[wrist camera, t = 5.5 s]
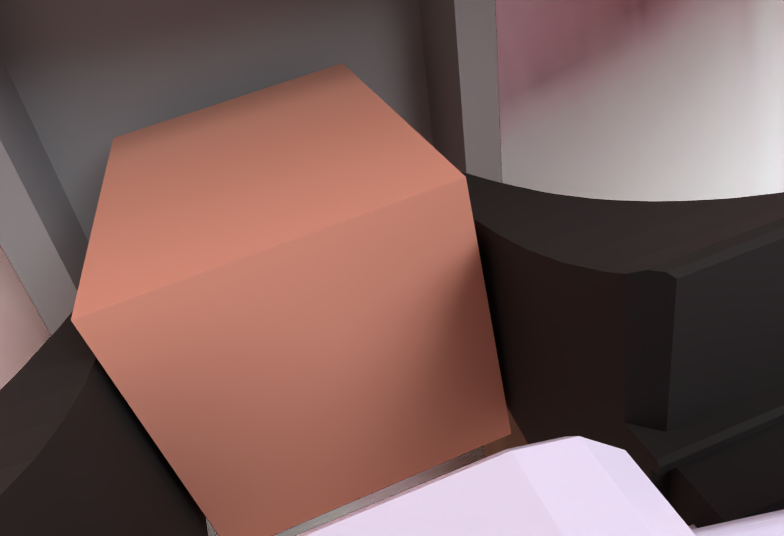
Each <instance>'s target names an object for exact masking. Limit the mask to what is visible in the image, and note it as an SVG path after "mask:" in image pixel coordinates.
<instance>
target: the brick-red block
mask: <svg viewBox="0 0 784 536" xmlns="http://www.w3.org/2000/svg"><path fill="white" fill-rule="evenodd" d="M71 321H72V323H73V324H74V326H75V327H76V329H77V330H78V331H79V333H80V334H81V336H82V337H83V339H84V340H85V342H86V343H87V345H88V346H89V347H90V349H91V350H92V352H93V353H94V355H95V356H96V358H97V359H98V361H99V362H100V363H101V365H102V366H103V368H104V369H105V371H106V372H107V374H108V375H109V377H110V378H111V379H112V381H113V382H114V384H115V385H116V387H117V388H118V390H119V391H120V393H121V394H122V395H123V397H124V398H125V400H126V401H127V403H128V404H129V406H130V407H131V409H132V410H133V411H134V413H135V414H136V416H137V417H138V419H139V420H140V422H141V423H142V425H143V426H144V427H145V429H146V430H147V432H148V433H149V435H150V436H151V438H152V439H153V441H154V442H155V443H156V445H157V446H158V448H159V449H160V451H161V452H162V454H163V455H164V457H165V458H166V459H167V461H168V462H169V464H170V465H171V467H172V468H173V470H174V471H175V473H176V474H177V475H178V477H179V478H180V480H181V481H182V483H183V484H184V486H185V487H186V489H187V490H188V491H189V493H190V494H191V496H192V497H193V499H194V500H195V502H196V503H197V505H198V506H199V507H200V509H201V510H202V512H203V513H204V515H205V516H206V518H207V519H208V521H209V522H210V523H211V525H212V526H213V528H214V529H215V531H216V532H217V534H218V535H219V536H273V535H275V534H278V533H280V532H282V531H285V530H287V529H289V528H292V527H294V526H296V525H299V524H301V523H303V522H306V521H308V520H310V519H313V518H315V517H318V516H320V515H322V514H325V513H327V512H329V511H332V510H334V509H336V508H339V507H341V506H343V505H346V504H348V503H350V502H353V501H355V500H357V499H360V498H362V497H364V496H367V495H369V494H371V493H374V492H376V491H378V490H381V489H383V488H385V487H388V486H390V485H392V484H395V483H397V482H399V481H402V480H404V479H406V478H409V477H411V476H413V475H416V474H418V473H420V472H423V471H425V470H428V469H430V468H432V467H435V466H437V465H439V464H442V463H444V462H446V461H449V460H451V459H453V458H456V457H458V456H460V455H463V454H465V453H467V452H470V451H472V450H474V449H477V448H479V447H481V446H484V445H486V444H488V443H491V442H493V441H495V440H498V439H500V438H502V437H505V436H507V435H509V434H511V430H510V424H509V418H508V413H507V407H506V401H505V396H504V390H503V384H502V379H501V373H500V367H499V362H498V356H497V350H496V345H495V339H494V333H493V328H492V322H491V316H490V311H489V305H488V299H487V294H486V288H485V282H484V277H483V271H482V265H481V260H480V254H479V248H478V243H477V237H476V231H475V226H474V220H473V215H472V209H471V203H470V198H469V192H468V186H467V181H466V177H465V176H464V175H463V174H462V173H461V172H460V171H459V170H458V169H457V168H456V167H455V166H454V165H452V164H451V163H450V162H449V161H448V160H447V159H446V158H445V157H444V156H443V155H442V154H441V153H439V152H438V151H437V150H436V149H435V148H434V147H433V146H432V145H431V144H430V143H429V142H427V141H426V140H425V139H424V138H423V137H422V136H421V135H420V134H419V133H418V132H417V131H416V130H414V129H413V128H412V127H411V126H410V125H409V124H408V123H407V122H406V121H405V120H404V119H403V118H401V117H400V116H399V115H398V114H397V113H396V112H395V111H394V110H393V109H392V108H391V107H390V106H388V105H387V104H386V103H385V102H384V101H383V100H382V99H381V98H380V97H379V96H378V95H377V94H375V93H374V92H373V91H372V90H371V89H370V88H369V87H368V86H367V85H366V84H365V83H364V82H362V81H361V80H360V79H359V78H358V77H357V76H356V75H355V74H354V73H353V72H352V71H350V70H349V69H348V68H347V67H346V66H345V65H344V64H343V63H341V64H338V65H335V66H332V67H329V68H326V69H323V70H320V71H317V72H314V73H311V74H307V75H304V76H301V77H298V78H295V79H292V80H289V81H286V82H283V83H280V84H277V85H274V86H271V87H268V88H265V89H262V90H259V91H255V92H252V93H249V94H246V95H243V96H240V97H237V98H234V99H231V100H228V101H225V102H222V103H219V104H216V105H213V106H210V107H207V108H203V109H200V110H197V111H194V112H191V113H188V114H185V115H182V116H179V117H176V118H173V119H170V120H167V121H164V122H161V123H158V124H155V125H151V126H148V127H145V128H142V129H139V130H136V131H133V132H130V133H127V134H124V135H121V136H118V137H115V138H113V141H112V145H111V149H110V154H109V158H108V162H107V167H106V171H105V175H104V180H103V184H102V188H101V192H100V197H99V201H98V205H97V210H96V214H95V218H94V223H93V227H92V231H91V235H90V240H89V244H88V248H87V253H86V257H85V261H84V266H83V270H82V274H81V278H80V283H79V287H78V291H77V296H76V300H75V304H74V309H73V313H72V317H71Z"/></svg>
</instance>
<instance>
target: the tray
mask: <svg viewBox="0 0 784 536" xmlns="http://www.w3.org/2000/svg"><path fill="white" fill-rule="evenodd" d="M341 63H343V64H344V65H345V66H346V67H347V68H348V69H349V70H350V71H352V72H353V73H354V74H355V75H356V76H357V77H358V78H359V79H360V80H361V81H362V82H364V83H365V84H366V85H367V86H368V87H369V88H370V89H371V90H372V91H373V92H374V93H375V94H377V95H378V96H379V97H380V98H381V99H382V100H383V101H384V102H385V103H386V104H387V105H388V106H390V107H391V108H392V109H393V110H394V111H395V112H396V113H397V114H398V115H399V116H400V117H401V118H403V119H404V120H405V121H406V122H407V123H408V124H409V125H410V126H411V127H412V128H413V129H414V130H416V131H417V132H418V133H419V134H420V135H421V136H422V137H423V138H424V139H425V140H426V141H427V142H429V143H430V144H431V145H432V146H433V147H434V148H435V149H436V150H437V151H438V152H439V153H441V154H442V155H443V156H444V157H445V158H446V159H447V160H448V161H449V162H450V163H451V164H452V165H454V166H455V167H456V168H457V169H458V170H459V171H461V172H464V173H468V174H471V175H475V176H478V177H482V178H485V179H489V180H492V181H496V182H500V183H502V169H501V142H500V116H499V89H498V62H497V36H496V9H495V0H0V246H1V247H2V249H3V251H4V253H5V255H6V256H7V258H8V260H9V262H10V263H11V265H12V267H13V269H14V270H15V272H16V274H17V276H18V278H19V279H20V281H21V283H22V285H23V286H24V288H25V290H26V292H27V293H28V295H29V297H30V299H31V301H32V302H33V304H34V306H35V308H36V309H37V311H38V313H39V315H40V316H41V318H42V320H43V322H44V324H45V325H46V327H47V329H48V331H49V332H50V334H51V336H52V335H53V334H54V333H55V331H56V330H57V329H58V328H59V327H60V326H61V324H62V323H63V322H64V321H65V320H66V318H67V317H68V316H69V315H70V314H71V312H72V311H73V309H74V304H75V300H76V296H77V291H78V287H79V283H80V278H81V274H82V270H83V266H84V261H85V257H86V253H87V248H88V244H89V240H90V235H91V231H92V227H93V223H94V218H95V214H96V210H97V205H98V201H99V197H100V192H101V188H102V184H103V180H104V175H105V171H106V167H107V162H108V158H109V154H110V149H111V145H112V141H113V138H115V137H118V136H121V135H124V134H127V133H130V132H133V131H136V130H139V129H142V128H145V127H148V126H151V125H155V124H158V123H161V122H164V121H167V120H170V119H173V118H176V117H179V116H182V115H185V114H188V113H191V112H194V111H197V110H200V109H203V108H207V107H210V106H213V105H216V104H219V103H222V102H225V101H228V100H231V99H234V98H237V97H240V96H243V95H246V94H249V93H252V92H255V91H259V90H262V89H265V88H268V87H271V86H274V85H277V84H280V83H283V82H286V81H289V80H292V79H295V78H298V77H301V76H304V75H307V74H311V73H314V72H317V71H320V70H323V69H326V68H329V67H332V66H335V65H338V64H341Z"/></svg>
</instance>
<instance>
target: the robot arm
mask: <svg viewBox="0 0 784 536" xmlns="http://www.w3.org/2000/svg"><path fill="white" fill-rule="evenodd" d="M460 172H461V171H460ZM461 173H462V174H463V175H464V176H465V177H466V181H467V186H468V192H469V198H470V203H471V209H472V215H473V220H474V226H475V231H476V237H477V243H478V248H479V254H480V260H481V265H482V271H483V277H484V282H485V288H486V294H487V299H488V305H489V311H490V316H491V322H492V328H493V333H494V339H495V345H496V350H497V356H498V362H499V367H500V373H501V379H502V384H503V390H504V396H505V401H506V406H507V408H508V410H509V411H510V413H511V415H512V417H513V418H514V420H515V422H516V424H517V425H518V427H519V429H520V431H521V432H522V434H523V436H524V438H525V439H526V441H527V443H528V445H524V446H519V447H514V448H510V449H505V450H503V451H501V452H498V453H496V454H493V455H491V456H488V457H486V458H484V459H481V460H479V461H476V462H474V463H471V464H469V465H466V466H464V467H462V468H459V469H457V470H454V471H452V472H449V473H447V474H445V475H442V476H440V477H437V478H435V479H432V480H430V481H428V482H425V483H423V484H420V485H418V486H415V487H413V488H411V489H408V490H406V491H403V492H401V493H398V494H396V495H393V496H391V497H389V498H386V499H384V500H381V501H379V502H376V503H374V504H372V505H369V506H367V507H364V508H362V509H359V510H357V511H355V512H352V513H350V514H347V515H345V516H342V517H340V518H338V519H335V520H333V521H330V522H328V523H325V524H323V525H320V526H318V527H316V528H313V529H311V530H308V531H306V532H303V533H301V534H299V535H296V536H784V193H775V194H766V195H758V196H749V197H741V198H731V199H715V200H696V201H662V202H649V201H618V200H602V199H590V198H582V197H574V196H565V195H558V194H551V193H545V192H540V191H535V190H531V189H526V188H521V187H516V186H512V185H508V184H504V183H500V182H496V181H492V180H489V179H485V178H482V177H478V176H475V175H471V174H468V173H464V172H461ZM72 313H73V311H72V312H71V314H70V315H69V316H68V317H67V318H66V320H65V321H64V322H63V323H62V324H61V326H60V327H59V328H58V329H57V330H56V331H55V333H54V334H53V335H52V336H51V337H50V338H49V339H48V340H47V341H46V343H45V344H44V345H43V346H42V347H41V348H40V349H39V350H38V351H37V352H36V354H35V355H34V356H33V357H32V358H31V359H30V360H29V361H28V362H27V363H26V365H25V366H24V367H23V368H22V369H21V370H20V371H19V372H18V373H17V374H16V375H15V376H14V377H13V378H12V379H11V380H10V381H9V382H8V383H7V384H6V385H5V386H4V387H3V388H2V389H1V390H0V536H208V532H207V525H206V517H205V515H204V513H203V512H202V510H201V509H200V507H199V506H198V505H197V503H196V502H195V500H194V499H193V497H192V496H191V494H190V493H189V491H188V490H187V489H186V487H185V486H184V484H183V483H182V481H181V480H180V478H179V477H178V475H177V474H176V473H175V471H174V470H173V468H172V467H171V465H170V464H169V462H168V461H167V459H166V458H165V457H164V455H163V454H162V452H161V451H160V449H159V448H158V446H157V445H156V443H155V442H154V441H153V439H152V438H151V436H150V435H149V433H148V432H147V430H146V429H145V427H144V426H143V425H142V423H141V422H140V420H139V419H138V417H137V416H136V414H135V413H134V411H133V410H132V409H131V407H130V406H129V404H128V403H127V401H126V400H125V398H124V397H123V395H122V394H121V393H120V391H119V390H118V388H117V387H116V385H115V384H114V382H113V381H112V379H111V378H110V377H109V375H108V374H107V372H106V371H105V369H104V368H103V366H102V365H101V363H100V362H99V361H98V359H97V358H96V356H95V355H94V353H93V352H92V350H91V349H90V347H89V346H88V345H87V343H86V342H85V340H84V339H83V337H82V336H81V334H80V333H79V331H78V330H77V329H76V327H75V326H74V324H73V323H72V321H71V317H72Z"/></svg>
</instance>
